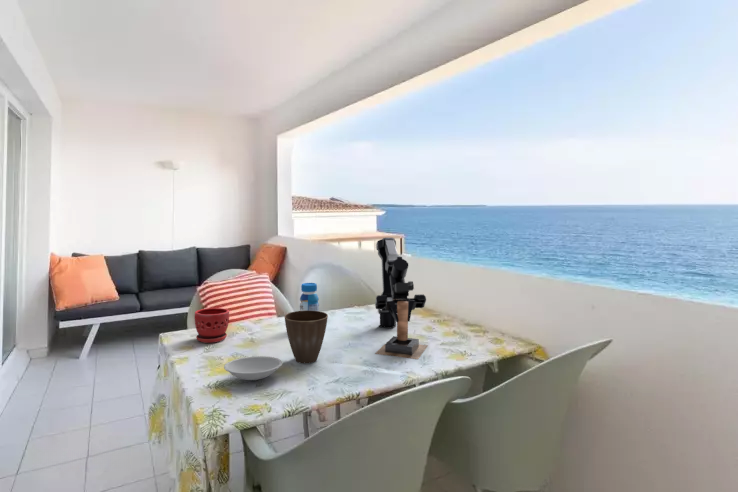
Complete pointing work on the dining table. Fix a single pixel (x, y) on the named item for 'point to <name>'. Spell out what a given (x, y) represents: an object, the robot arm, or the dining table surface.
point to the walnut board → (414, 356)
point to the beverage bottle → (309, 297)
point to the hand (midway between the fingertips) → (403, 321)
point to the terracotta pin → (402, 320)
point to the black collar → (402, 346)
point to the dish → (253, 367)
